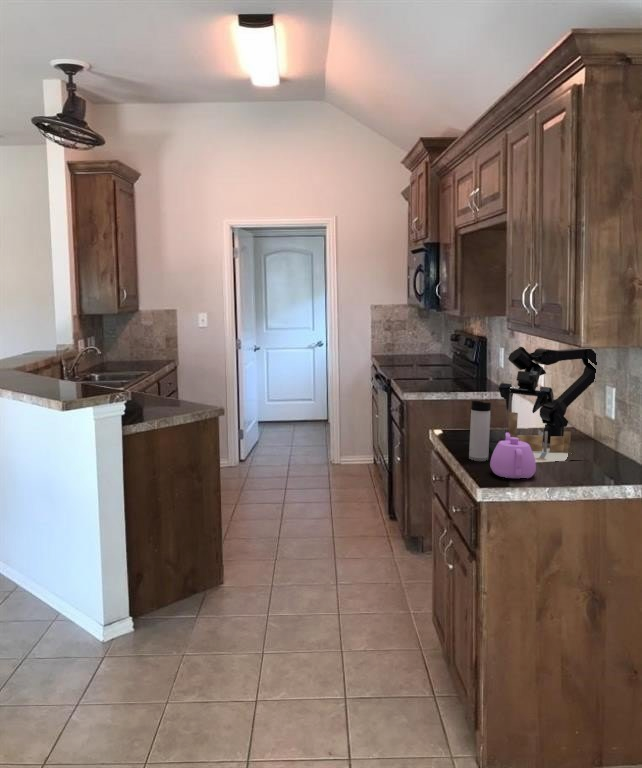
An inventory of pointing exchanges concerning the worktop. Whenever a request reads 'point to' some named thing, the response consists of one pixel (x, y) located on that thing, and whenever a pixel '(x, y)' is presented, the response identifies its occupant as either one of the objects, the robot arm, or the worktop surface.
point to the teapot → (513, 459)
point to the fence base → (558, 442)
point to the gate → (533, 441)
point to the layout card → (549, 456)
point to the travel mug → (479, 431)
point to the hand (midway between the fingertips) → (519, 410)
